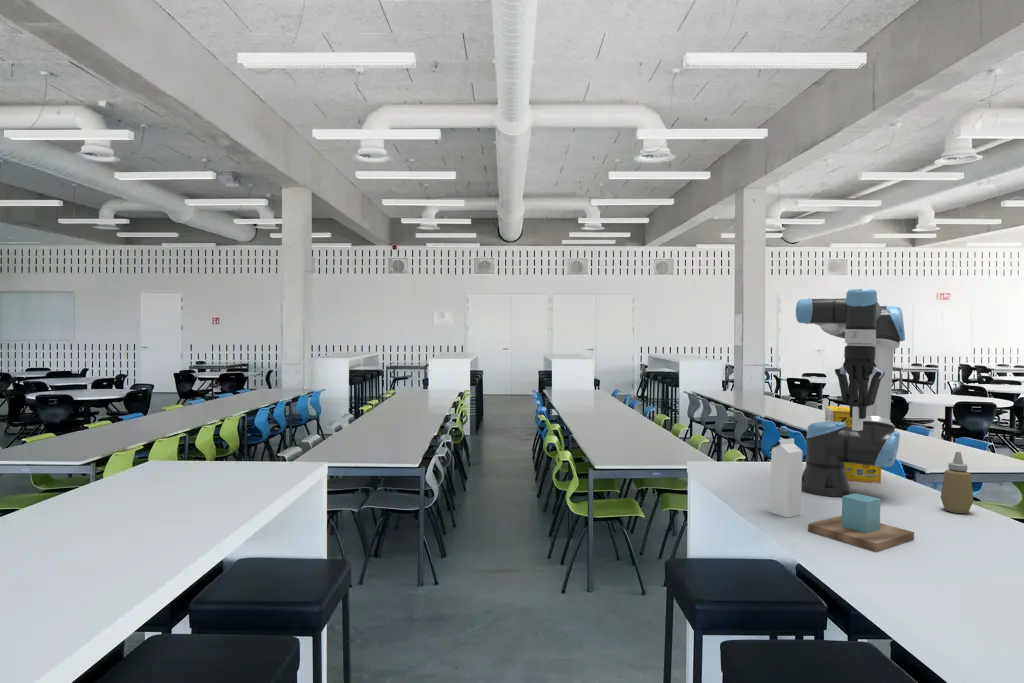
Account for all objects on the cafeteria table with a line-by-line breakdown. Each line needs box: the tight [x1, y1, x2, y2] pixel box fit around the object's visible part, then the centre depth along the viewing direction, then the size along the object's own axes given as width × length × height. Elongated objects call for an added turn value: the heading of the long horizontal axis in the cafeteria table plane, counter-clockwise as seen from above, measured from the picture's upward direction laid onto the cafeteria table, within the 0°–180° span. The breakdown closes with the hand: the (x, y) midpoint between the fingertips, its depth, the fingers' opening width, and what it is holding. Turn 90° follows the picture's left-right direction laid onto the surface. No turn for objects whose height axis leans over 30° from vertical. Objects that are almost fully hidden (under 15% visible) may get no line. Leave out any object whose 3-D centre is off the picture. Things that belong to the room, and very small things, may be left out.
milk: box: [769, 438, 803, 519], centre depth 185 cm, size 6×6×22 cm
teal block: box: [841, 492, 881, 533], centre depth 167 cm, size 6×6×8 cm
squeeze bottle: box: [940, 451, 974, 515], centre depth 191 cm, size 8×8×18 cm
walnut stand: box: [807, 514, 915, 553], centre depth 167 cm, size 18×18×8 cm
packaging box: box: [824, 405, 882, 484], centre depth 236 cm, size 16×16×25 cm
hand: (857, 430), depth 176 cm, fingers closed
